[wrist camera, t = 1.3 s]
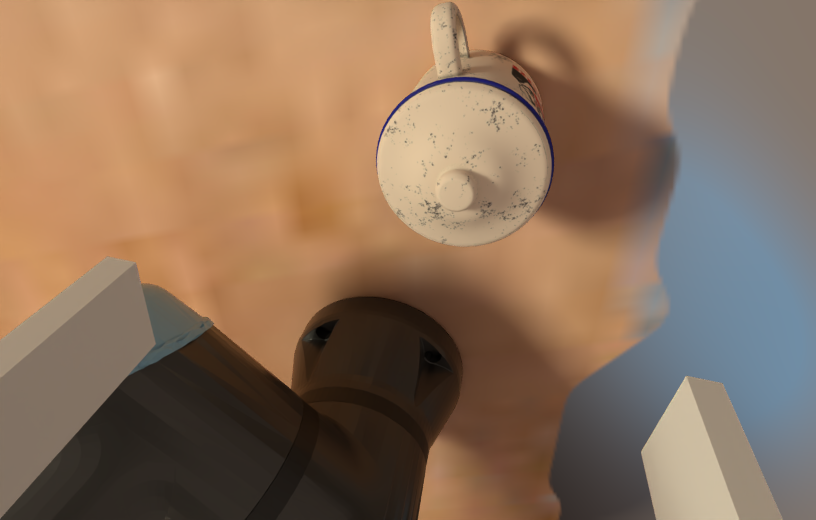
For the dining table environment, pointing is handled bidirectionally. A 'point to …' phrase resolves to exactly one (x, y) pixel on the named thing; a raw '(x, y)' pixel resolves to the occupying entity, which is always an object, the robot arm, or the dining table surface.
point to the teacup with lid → (466, 144)
